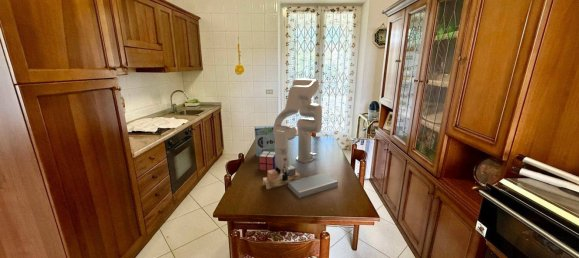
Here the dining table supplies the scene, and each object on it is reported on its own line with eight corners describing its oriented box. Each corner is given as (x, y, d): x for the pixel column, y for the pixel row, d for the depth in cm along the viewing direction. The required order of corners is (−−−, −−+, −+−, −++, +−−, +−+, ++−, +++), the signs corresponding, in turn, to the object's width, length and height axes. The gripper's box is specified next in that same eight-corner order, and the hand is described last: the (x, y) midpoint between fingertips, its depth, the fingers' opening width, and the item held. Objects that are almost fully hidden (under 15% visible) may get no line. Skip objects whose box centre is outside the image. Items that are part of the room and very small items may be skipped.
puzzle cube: (273, 171, 156) (273, 157, 153) (259, 170, 158) (258, 156, 155) (277, 165, 166) (277, 152, 163) (263, 163, 167) (263, 150, 165)
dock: (324, 176, 148) (324, 172, 147) (337, 186, 137) (337, 181, 136) (288, 186, 137) (288, 181, 136) (299, 197, 126) (299, 192, 125)
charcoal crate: (292, 171, 146) (291, 165, 145) (295, 174, 142) (295, 167, 141) (285, 173, 144) (285, 166, 143) (288, 176, 140) (288, 169, 139)
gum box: (279, 152, 189) (279, 124, 183) (281, 154, 184) (280, 126, 178) (255, 154, 185) (254, 126, 178) (256, 156, 180) (254, 128, 174)
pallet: (295, 176, 149) (295, 170, 148) (300, 180, 144) (300, 174, 143) (263, 185, 139) (262, 178, 138) (266, 189, 134) (266, 182, 133)
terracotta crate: (274, 176, 141) (274, 169, 140) (277, 179, 137) (277, 172, 136) (267, 177, 139) (267, 170, 138) (270, 180, 135) (270, 173, 134)
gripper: (294, 154, 130) (293, 181, 135) (280, 144, 145) (280, 170, 149) (281, 156, 127) (282, 184, 131) (269, 146, 141) (269, 172, 146)
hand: (281, 177), depth 140 cm, fingers open, 9 cm apart
